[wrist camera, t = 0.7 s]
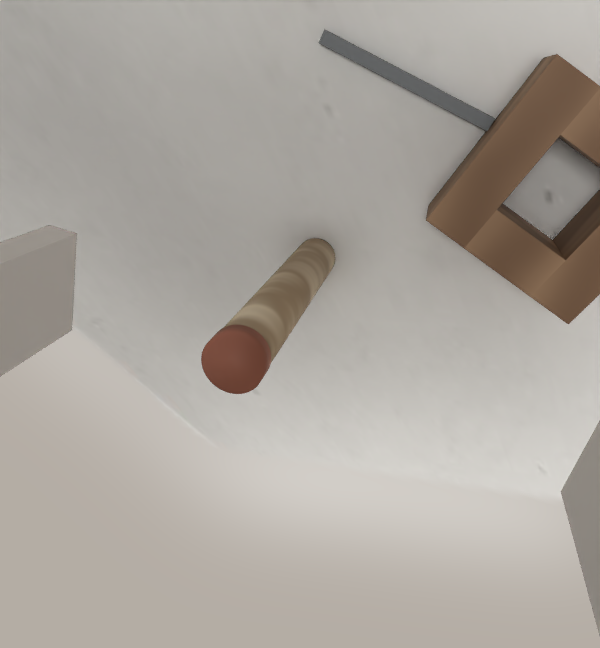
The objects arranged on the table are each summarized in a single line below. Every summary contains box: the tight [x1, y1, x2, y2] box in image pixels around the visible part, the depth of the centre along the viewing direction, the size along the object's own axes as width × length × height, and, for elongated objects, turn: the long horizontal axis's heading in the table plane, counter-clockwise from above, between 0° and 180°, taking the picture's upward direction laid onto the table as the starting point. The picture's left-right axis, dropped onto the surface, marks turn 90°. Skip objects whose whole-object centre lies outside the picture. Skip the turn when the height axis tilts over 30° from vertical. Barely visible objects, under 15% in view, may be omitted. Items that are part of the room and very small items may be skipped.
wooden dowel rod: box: [201, 238, 335, 394], centre depth 28 cm, size 2×2×15 cm
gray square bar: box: [319, 29, 495, 131], centre depth 30 cm, size 10×1×1 cm, turn 65°
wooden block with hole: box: [426, 54, 600, 324], centre depth 29 cm, size 9×9×4 cm
